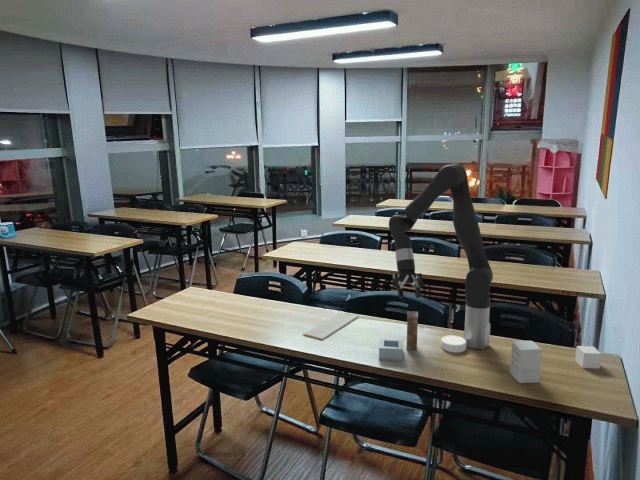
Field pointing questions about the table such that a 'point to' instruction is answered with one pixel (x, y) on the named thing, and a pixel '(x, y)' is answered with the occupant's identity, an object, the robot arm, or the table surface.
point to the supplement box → (525, 361)
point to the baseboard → (331, 326)
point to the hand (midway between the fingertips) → (410, 297)
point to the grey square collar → (391, 349)
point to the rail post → (412, 330)
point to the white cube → (588, 357)
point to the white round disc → (453, 343)
